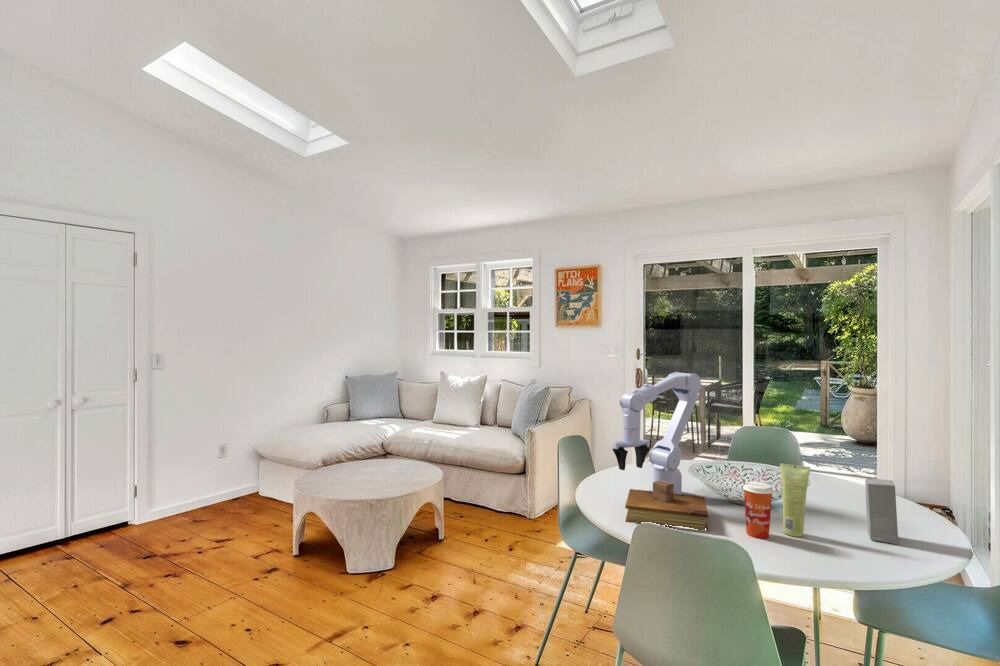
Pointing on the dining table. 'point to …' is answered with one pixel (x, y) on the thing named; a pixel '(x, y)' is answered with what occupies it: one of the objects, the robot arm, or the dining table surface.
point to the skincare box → (881, 510)
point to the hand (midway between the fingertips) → (630, 468)
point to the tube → (794, 497)
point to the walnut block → (663, 490)
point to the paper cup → (757, 508)
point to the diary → (667, 510)
